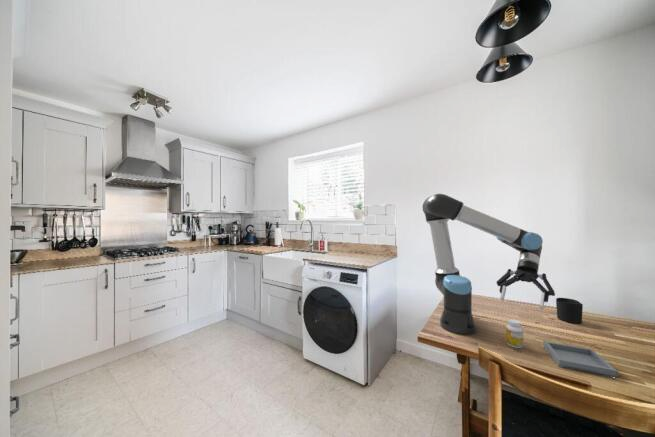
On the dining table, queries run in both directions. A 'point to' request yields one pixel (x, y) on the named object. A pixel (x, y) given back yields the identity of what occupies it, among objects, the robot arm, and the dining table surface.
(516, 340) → the supplement bottle
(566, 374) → the dining table surface
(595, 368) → the tray
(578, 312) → the pen holder
